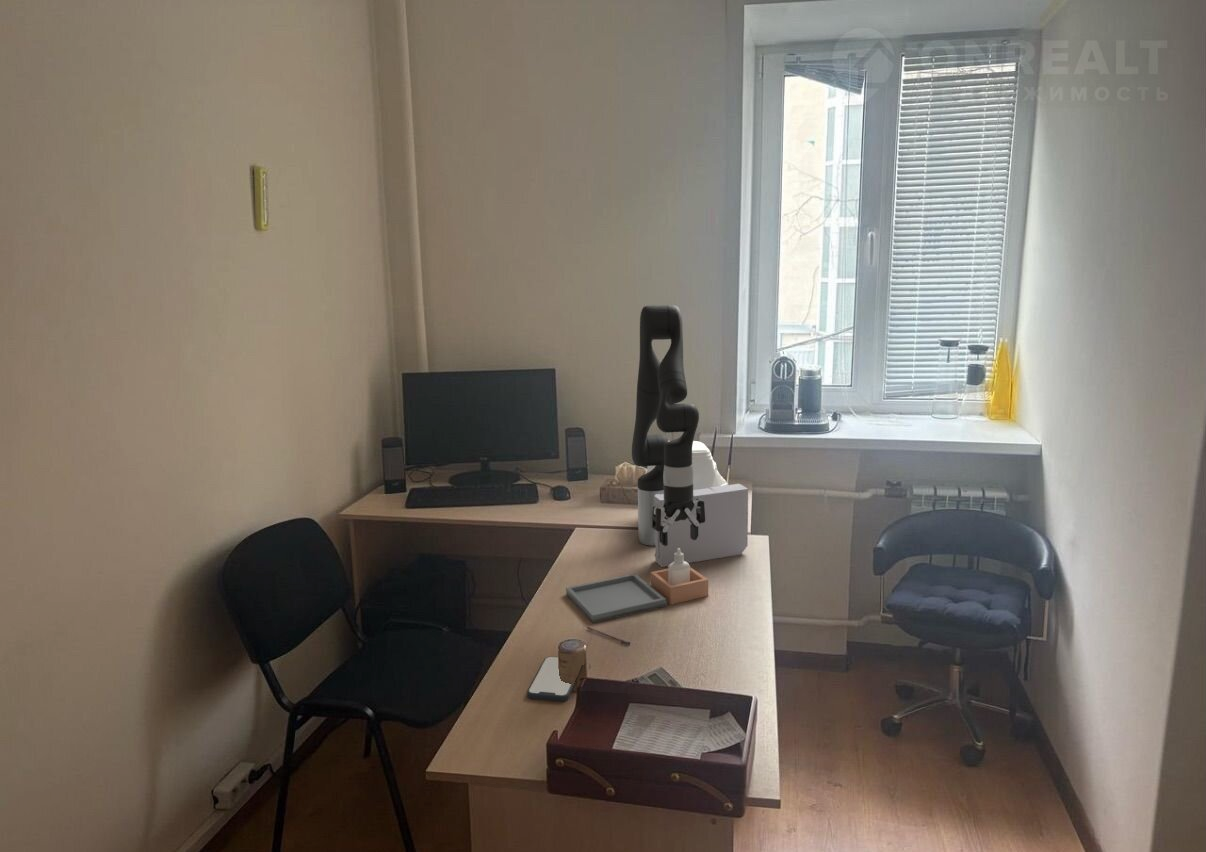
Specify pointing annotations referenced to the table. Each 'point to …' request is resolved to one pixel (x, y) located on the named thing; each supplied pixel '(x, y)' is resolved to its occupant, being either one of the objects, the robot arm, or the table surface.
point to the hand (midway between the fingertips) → (679, 542)
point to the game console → (708, 527)
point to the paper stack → (703, 468)
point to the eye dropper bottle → (678, 570)
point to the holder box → (679, 586)
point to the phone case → (549, 683)
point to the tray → (615, 597)
